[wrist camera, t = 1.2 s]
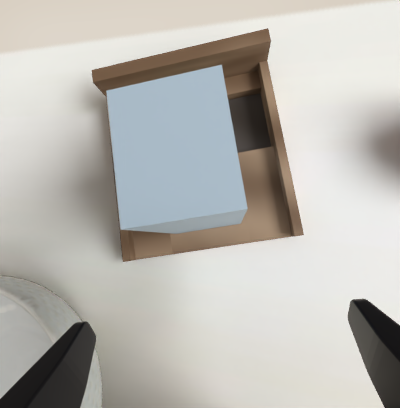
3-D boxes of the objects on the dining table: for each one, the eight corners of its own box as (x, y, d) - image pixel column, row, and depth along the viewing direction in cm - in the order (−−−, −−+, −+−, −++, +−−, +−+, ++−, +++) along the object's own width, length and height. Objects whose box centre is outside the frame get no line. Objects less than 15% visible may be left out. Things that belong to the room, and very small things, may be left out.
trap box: (296, 235, 20) (312, 234, 16) (133, 259, 21) (110, 264, 17) (261, 66, 22) (268, 28, 18) (115, 98, 23) (91, 70, 19)
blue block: (240, 223, 19) (247, 209, 10) (176, 233, 20) (120, 229, 10) (227, 148, 20) (221, 64, 10) (166, 160, 21) (106, 90, 11)
